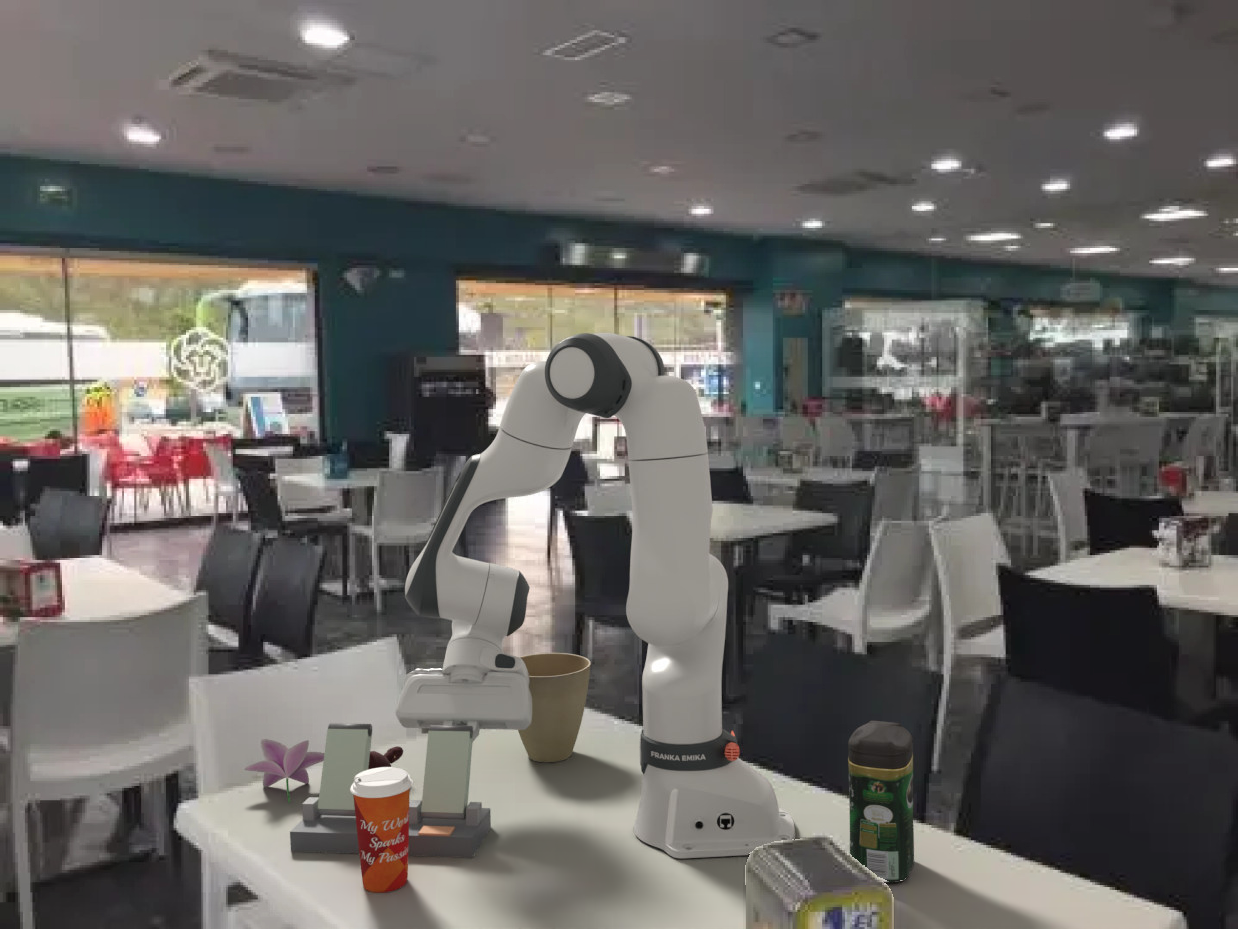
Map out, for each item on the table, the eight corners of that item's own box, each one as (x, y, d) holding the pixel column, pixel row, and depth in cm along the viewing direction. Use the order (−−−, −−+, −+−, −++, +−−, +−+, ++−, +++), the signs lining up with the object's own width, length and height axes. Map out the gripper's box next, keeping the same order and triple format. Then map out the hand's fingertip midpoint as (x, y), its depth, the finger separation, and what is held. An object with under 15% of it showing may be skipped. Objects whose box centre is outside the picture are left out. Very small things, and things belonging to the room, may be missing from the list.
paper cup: (360, 902, 132) (355, 791, 131) (349, 876, 139) (345, 771, 138) (422, 889, 135) (418, 780, 134) (409, 864, 142) (405, 761, 141)
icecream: (354, 773, 159) (421, 751, 172) (319, 753, 162) (387, 733, 175) (345, 817, 160) (411, 791, 173) (310, 796, 163) (378, 773, 176)
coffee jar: (857, 849, 144) (856, 713, 143) (917, 858, 141) (917, 719, 140) (843, 880, 135) (842, 736, 134) (907, 890, 132) (907, 743, 131)
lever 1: (362, 816, 151) (373, 724, 156) (357, 816, 149) (368, 723, 154) (322, 815, 152) (333, 724, 157) (316, 814, 150) (328, 722, 155)
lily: (344, 794, 171) (335, 734, 174) (307, 791, 160) (298, 728, 163) (276, 815, 172) (268, 755, 176) (235, 813, 161) (227, 750, 165)
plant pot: (505, 743, 190) (502, 655, 188) (589, 739, 191) (586, 651, 190) (505, 774, 175) (502, 678, 174) (596, 768, 176) (594, 673, 175)
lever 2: (466, 820, 149) (473, 726, 154) (462, 819, 148) (470, 725, 152) (424, 818, 150) (433, 726, 155) (420, 818, 148) (429, 724, 153)
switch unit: (490, 827, 154) (489, 792, 153) (472, 858, 144) (471, 820, 143) (320, 822, 157) (318, 787, 157) (290, 851, 147) (289, 814, 147)
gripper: (401, 658, 163) (381, 742, 154) (532, 659, 161) (520, 745, 152) (411, 679, 168) (393, 761, 159) (539, 680, 166) (528, 764, 157)
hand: (456, 753), depth 155 cm, fingers closed
